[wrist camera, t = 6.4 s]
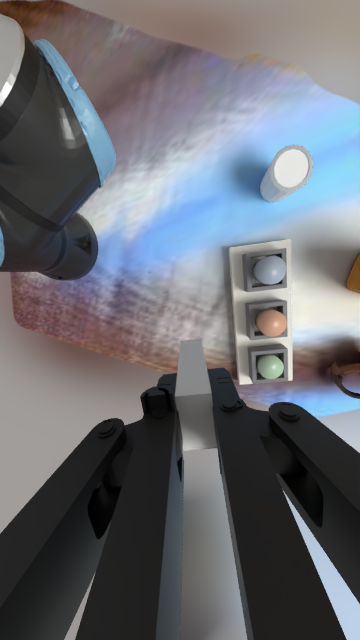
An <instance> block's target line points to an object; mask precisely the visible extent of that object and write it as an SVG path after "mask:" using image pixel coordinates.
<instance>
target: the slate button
mask: <svg viewBox="0 0 360 640" xmlns="http://www.w3.org/2000/svg"><path fill="white" fill-rule="evenodd" d="M285 273H286V264H285V262H284V261H283V260H282V259H281V258H280V257H277V256H269V257H265V258H262V259H260V260H258V261H257V262H256V264H255V265H254V267H253V276H254V278H255V280H256V281H257V282H259V283H261V284H269V285H272V284H276V283H278V282H280V281H281V280H282V279H283V277H284V276H285Z"/></svg>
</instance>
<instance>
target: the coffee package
mask: <svg viewBox="0 0 360 640" xmlns="http://www.w3.org/2000/svg"><path fill="white" fill-rule="evenodd" d="M347 288H348V289H350V290H352V291H355V292H358V293H360V253H359V255H358V257H357V259H356V261H355V263H354V265H353V268H352V271H351V273H350V275H349V277H348V282H347Z"/></svg>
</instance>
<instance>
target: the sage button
mask: <svg viewBox="0 0 360 640" xmlns="http://www.w3.org/2000/svg"><path fill="white" fill-rule="evenodd" d="M256 368H257V370H258V371H259V372H260V374H261V375H262V376H263V377H264V378H267V379H275V378H277V377H279V376H280V375H281V374H282V372H283V370H284V365H283V363H282V361H281V360H280V359H279V358H278V357H277V356H276V355H275V354H263V355H258V356H257V357H256Z"/></svg>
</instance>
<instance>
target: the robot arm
mask: <svg viewBox="0 0 360 640" xmlns="http://www.w3.org/2000/svg"><path fill="white" fill-rule="evenodd" d="M115 165H116V153H115V149H114V147H113V144H112V141H111V139H110V137H109V135H108V133H107V131H106V129H105V127H104V125H103V123H102V121H101V119H100V117H99V116H98V114H97V112H96V110H95V109H94V107H93V105H92V103H91V102H90V100H89V98H88V97H87V95H86V93H85V92H84V90H83V89H82V88H81V87H80V86H79V84H78V82H77V80H76V78H75V77H74V75H73V73H72V72H71V70H70V68H69V67H68V65H67V64H66V62H65V61H64V60H63V58H62V57H61V55H60V54H59V53H58V52H57V50H56V49H55V48H54V47H53V46H52V45H51V44H50V43H49V42H48V41H47V40H45V39H41V40H36V41H35V42H34V44H32V42H31V41H30V40H29V38H28V37H27V35H26V34H25V33H24V31H23V30H22V29H21V27H20V26H19V24H18V23H17V22H16V21H15V20H14V19H11V18H9V17H6V16H4V15H1V14H0V271H1V272H39V273H41V274H43V275H45V276H48V277H50V278H53V279H56V280H76V279H79V278H81V277H83V276H85V275H86V274H87V273H88V272H89V271H90V270H91V269H92V268H93V266H94V264H95V262H96V259H97V255H98V242H97V238H96V235H95V232H94V230H93V228H92V226H91V225H90V224H89V222H88V221H87V220H86V219H85V218H84V217H83V216H81V215H80V214H79V213H77V211H78V210H79V209H80V208H81V207H82V206H83V205H84V203H85V202H86V201H87V200H88V199H89V198H90V197H91V195H92V194H93V193H94V192H95V191H96V190H97V189H98V188H101V187H102V186H103V183H104V181H105V179H106V178H107V177H108V176H109V174H110V173H111V172H112V171H113V169H114V168H115ZM140 398H141V402H142V407H143V412H144V416H143V418H142V419H141V420H139V421H137V422H134V423H131V424H128V425H125V426H124V422H123V421H122V420H121V419H117V418H113V419H108V420H105V421H103V422H101V423H99V424H98V425H96V426H95V427H94V428H93V429H92V430H91V431H90V432H89V434H88V435H87V436H86V437H85V438H84V440H82V442H81V443H80V444H79V445H78V446H77V447H76V448H75V449H74V451H73V452H72V453H71V454H70V455H69V456H68V458H67V459H66V460H65V461H64V462H63V463H62V464H61V466H60V467H59V468H58V469H57V470H56V471H55V472H54V473H53V475H52V476H51V477H50V478H49V479H48V480H47V481H46V482H45V484H44V485H43V486H42V487H41V488H40V489H39V490H38V492H37V493H36V494H35V495H34V496H33V497H32V498H31V499H30V501H29V502H28V503H27V504H26V505H25V506H24V507H23V509H22V510H21V511H20V512H19V513H18V514H17V515H16V516H15V518H14V519H13V520H12V521H11V522H10V523H9V524H8V526H7V527H6V528H5V529H4V530H3V531H2V533H1V534H0V640H64V639H65V636H66V634H67V632H68V630H69V628H70V626H71V623H72V621H73V619H74V617H75V615H76V613H77V610H78V608H79V606H80V604H81V602H82V600H83V598H84V595H85V593H86V591H87V589H88V587H89V585H90V582H91V580H92V578H93V576H94V574H95V576H94V580H93V583H92V586H91V590H90V593H89V596H88V599H87V603H86V606H85V609H84V612H83V616H82V619H81V622H80V626H79V629H78V632H77V636H76V639H75V640H181V639H180V636H181V587H182V534H183V484H184V460H183V454H182V447H183V449H184V451H186V450H198V449H210V448H218V456H219V465H220V474H221V476H222V482H223V489H224V495H225V501H226V508H227V514H228V520H229V526H230V532H231V538H232V545H233V552H234V557H235V564H236V570H237V577H238V583H239V589H240V595H241V602H242V607H243V614H244V620H245V626H246V633H247V639H248V640H346V637H345V635H344V632H343V630H342V628H341V625H340V623H339V621H338V618H337V616H336V614H335V611H334V609H333V607H332V604H331V602H330V600H329V597H328V595H327V593H326V590H325V588H324V586H323V583H322V581H321V579H320V577H319V574H318V572H317V569H316V567H315V565H314V562H313V560H312V558H311V556H310V553H309V551H308V548H307V546H306V544H305V541H304V539H303V537H302V534H301V532H300V530H299V527H298V525H297V523H296V520H295V518H294V516H293V513H292V511H291V509H290V506H289V504H288V502H287V499H286V497H285V495H284V492H285V494H286V495H287V496H288V498H289V499H290V501H291V502H292V504H293V505H294V507H295V508H296V510H297V511H298V513H299V514H300V516H301V517H302V519H303V520H304V522H305V523H306V525H307V526H308V528H309V529H310V531H311V532H312V534H313V535H314V537H315V538H316V539H317V541H318V542H319V544H320V545H321V547H322V548H323V550H324V551H325V553H326V554H327V556H328V557H329V559H330V560H331V562H332V563H333V565H334V566H335V568H336V569H337V571H338V572H339V574H340V575H341V576H342V578H343V580H344V581H345V583H346V584H347V586H348V587H349V588H350V590H351V591H352V593H353V594H354V596H355V597H356V599H357V600H358V602H359V603H360V453H359V452H357V451H356V450H355V449H354V448H352V447H351V446H350V445H349V444H347V443H346V442H345V441H343V440H342V439H341V438H340V437H339V436H337V435H336V434H335V433H334V432H332V431H331V430H330V429H329V428H327V427H326V426H325V425H324V424H322V423H321V422H320V421H319V420H317V419H316V418H315V417H314V416H312V415H311V414H310V413H309V412H307V411H306V410H305V409H303V408H302V407H300V406H298V405H296V404H293V403H288V402H278V403H275V404H273V405H271V406H270V408H269V412H268V411H260V410H255V409H252V408H249V407H248V406H246V404H245V403H244V401H243V400H241V399H240V398H239V395H238V393H237V390H236V388H235V385H234V383H233V380H232V378H231V376H230V373H229V371H227V370H226V369H225V368H215V369H207V366H206V361H205V356H204V351H203V346H202V340H201V339H195V340H186V341H181V343H180V353H179V362H178V372H177V373H174V374H165V375H163V376H162V377H161V378H160V379H159V381H158V384H157V386H156V387H152V388H150V389H148V390H146V391H145V392H143V394H142V395H141V397H140ZM282 489H283V490H282ZM283 491H284V492H283ZM95 572H96V573H95Z"/></svg>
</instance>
